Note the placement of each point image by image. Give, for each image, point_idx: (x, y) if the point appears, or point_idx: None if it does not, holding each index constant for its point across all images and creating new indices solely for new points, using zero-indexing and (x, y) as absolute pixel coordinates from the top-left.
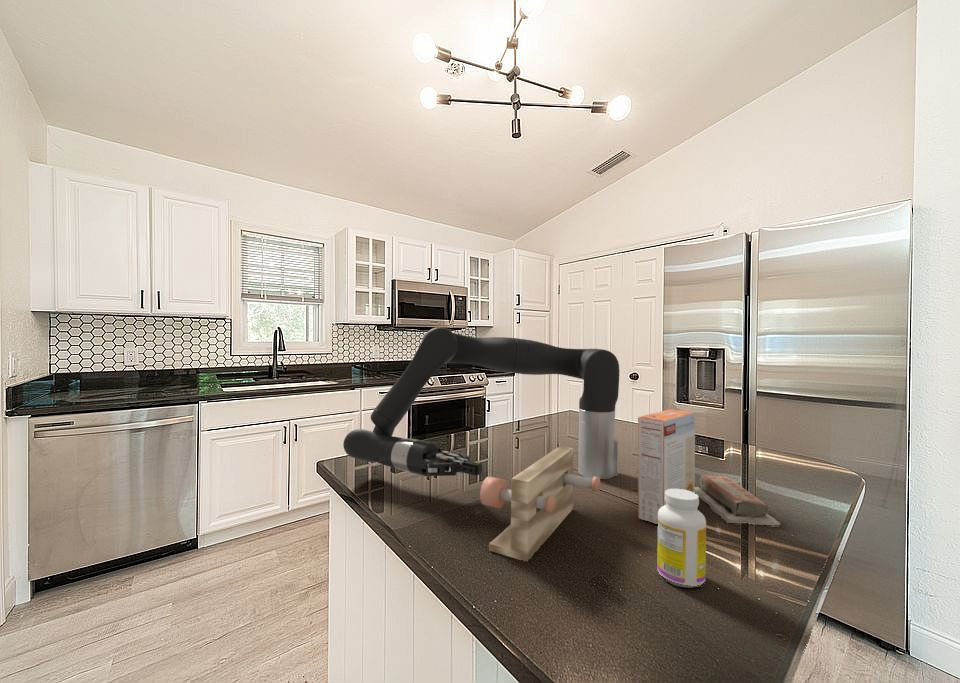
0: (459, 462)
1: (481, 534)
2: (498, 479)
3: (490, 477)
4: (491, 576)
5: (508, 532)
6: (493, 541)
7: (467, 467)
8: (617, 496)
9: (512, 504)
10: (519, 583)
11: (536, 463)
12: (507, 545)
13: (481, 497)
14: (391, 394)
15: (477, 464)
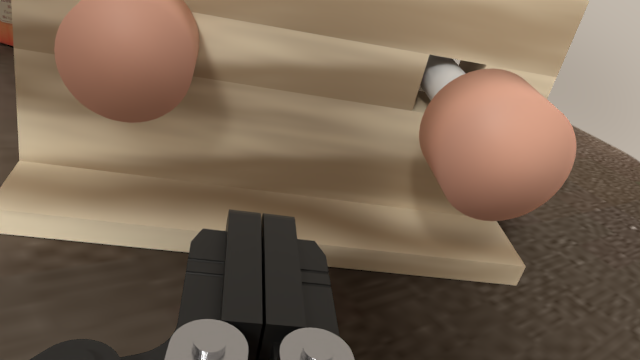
0: (353, 357)
1: (457, 340)
2: (509, 75)
3: (523, 92)
4: (591, 251)
5: (415, 242)
6: (504, 260)
7: (330, 304)
8: None
9: (548, 87)
10: (549, 207)
11: None
12: (485, 228)
13: (561, 178)
14: None
15: (274, 220)
